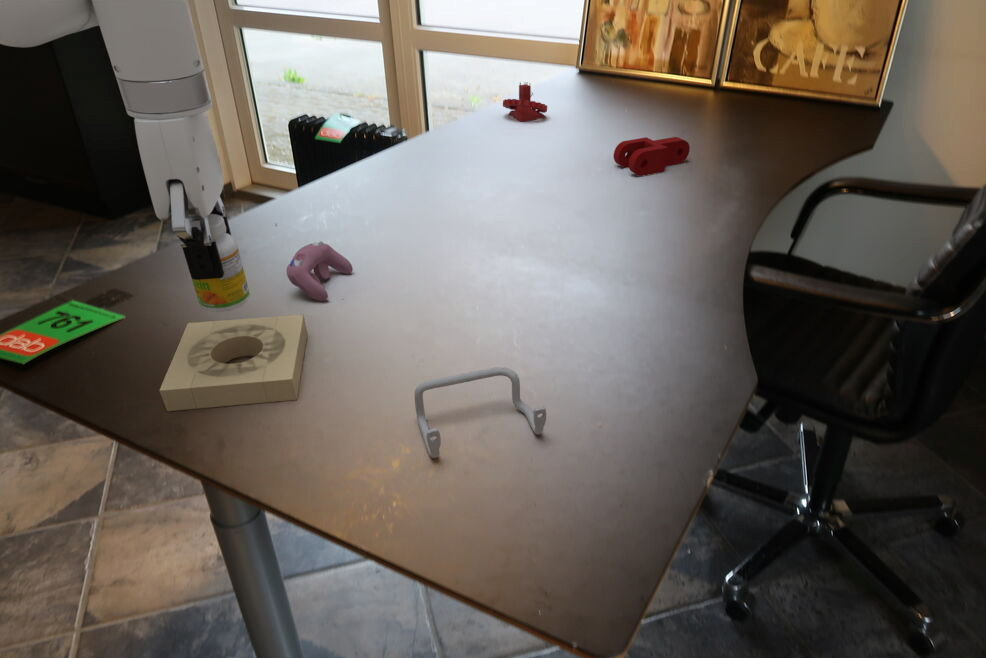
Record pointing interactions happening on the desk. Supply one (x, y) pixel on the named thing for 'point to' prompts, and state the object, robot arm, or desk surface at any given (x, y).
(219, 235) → the supplement bottle
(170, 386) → the socket pad
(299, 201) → the desk surface
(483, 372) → the bracket
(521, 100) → the red cross-shaped piece
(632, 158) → the mechanical linkage
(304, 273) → the video game controller
